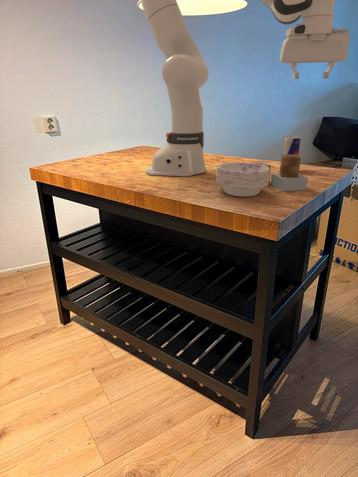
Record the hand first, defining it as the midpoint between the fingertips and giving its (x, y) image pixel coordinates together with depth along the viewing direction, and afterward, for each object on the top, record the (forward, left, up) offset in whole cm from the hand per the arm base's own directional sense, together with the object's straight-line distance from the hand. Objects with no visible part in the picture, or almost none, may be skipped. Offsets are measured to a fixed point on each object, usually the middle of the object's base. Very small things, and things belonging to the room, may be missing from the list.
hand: (310, 78), depth 114 cm
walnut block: (-8, -17, -28) cm, 33 cm away
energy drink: (-2, +6, -31) cm, 32 cm away
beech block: (-16, -11, -31) cm, 37 cm away
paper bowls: (-23, -23, -31) cm, 46 cm away
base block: (-8, -17, -32) cm, 37 cm away
